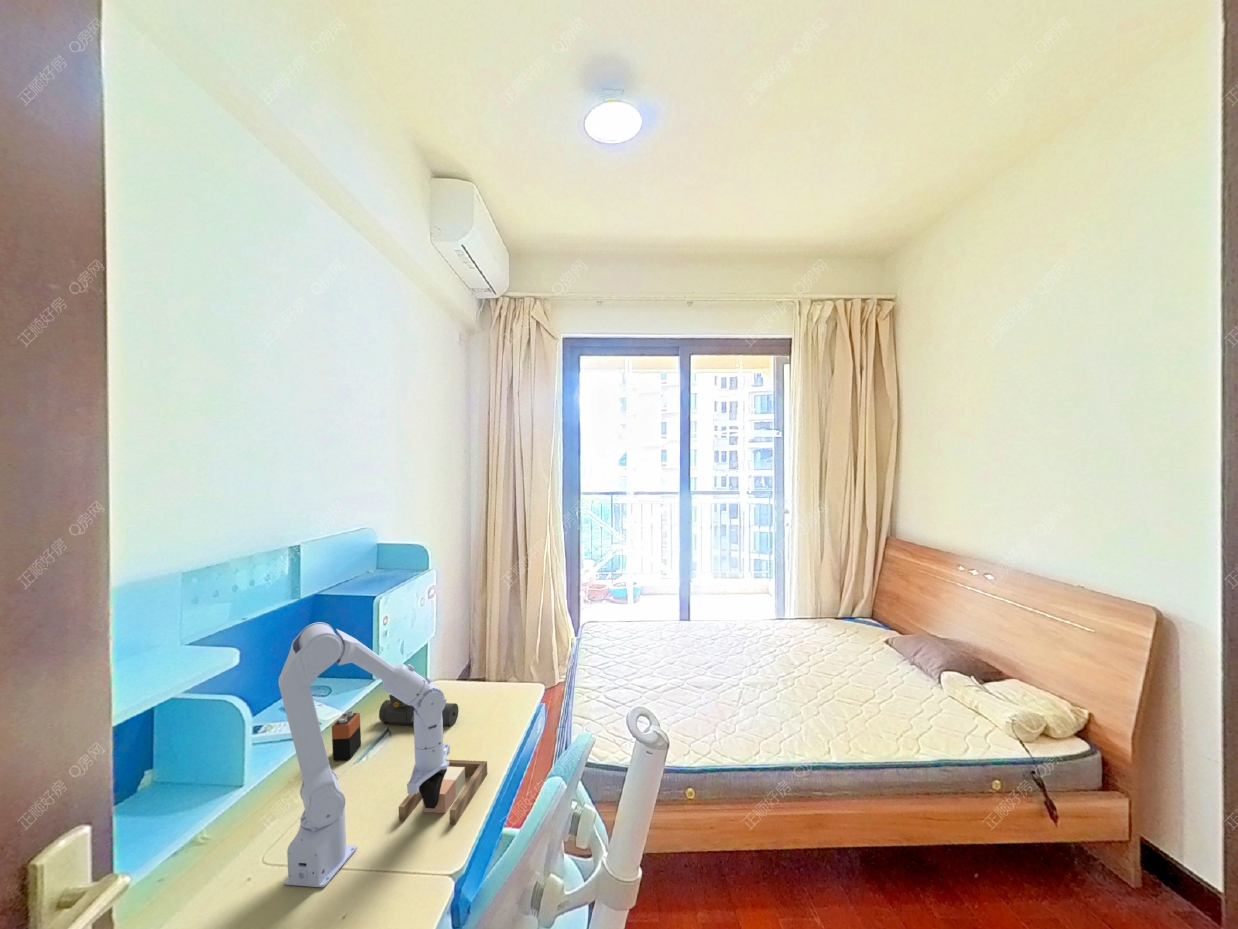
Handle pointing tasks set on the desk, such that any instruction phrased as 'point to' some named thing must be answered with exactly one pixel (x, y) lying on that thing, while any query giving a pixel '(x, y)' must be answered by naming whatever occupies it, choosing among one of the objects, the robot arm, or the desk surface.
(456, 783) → the tile far
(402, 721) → the laser sight
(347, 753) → the battery
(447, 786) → the pink cube-like block
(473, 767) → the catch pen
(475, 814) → the desk surface
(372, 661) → the robot arm
